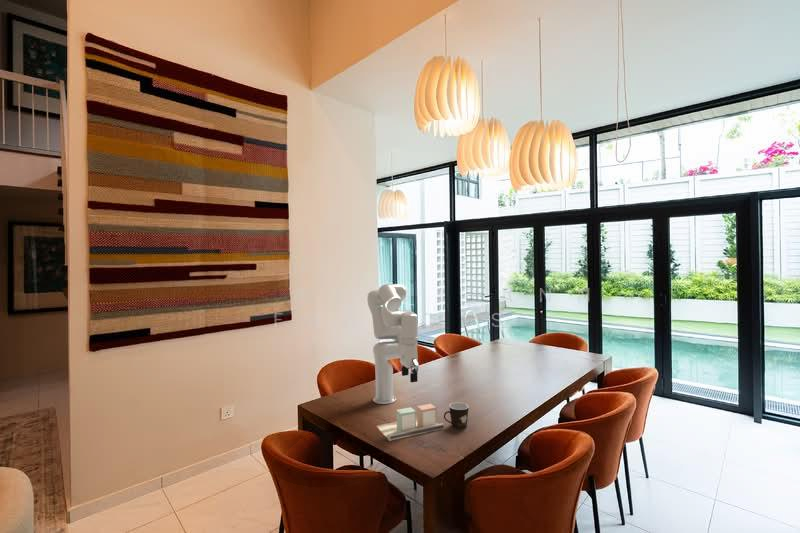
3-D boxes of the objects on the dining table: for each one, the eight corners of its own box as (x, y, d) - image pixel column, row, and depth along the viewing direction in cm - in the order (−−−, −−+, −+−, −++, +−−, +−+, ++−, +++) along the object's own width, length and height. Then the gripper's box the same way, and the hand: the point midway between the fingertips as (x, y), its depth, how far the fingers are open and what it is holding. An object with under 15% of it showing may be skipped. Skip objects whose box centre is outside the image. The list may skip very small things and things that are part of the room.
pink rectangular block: (422, 430, 164) (422, 410, 164) (417, 426, 169) (416, 406, 169) (436, 427, 167) (436, 407, 167) (431, 423, 172) (430, 403, 172)
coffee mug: (466, 424, 173) (466, 402, 173) (471, 432, 164) (470, 409, 164) (441, 424, 172) (441, 403, 172) (444, 433, 164) (444, 410, 164)
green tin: (401, 435, 160) (400, 413, 160) (396, 430, 165) (396, 409, 165) (416, 431, 163) (415, 411, 163) (411, 427, 168) (410, 407, 168)
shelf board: (376, 428, 170) (376, 421, 170) (427, 417, 180) (427, 411, 180) (389, 443, 155) (389, 435, 155) (444, 431, 166) (444, 424, 166)
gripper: (394, 337, 176) (394, 374, 176) (409, 345, 160) (409, 385, 160) (409, 336, 179) (409, 372, 179) (425, 344, 163) (425, 383, 163)
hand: (409, 378), depth 170 cm, fingers open, 9 cm apart
